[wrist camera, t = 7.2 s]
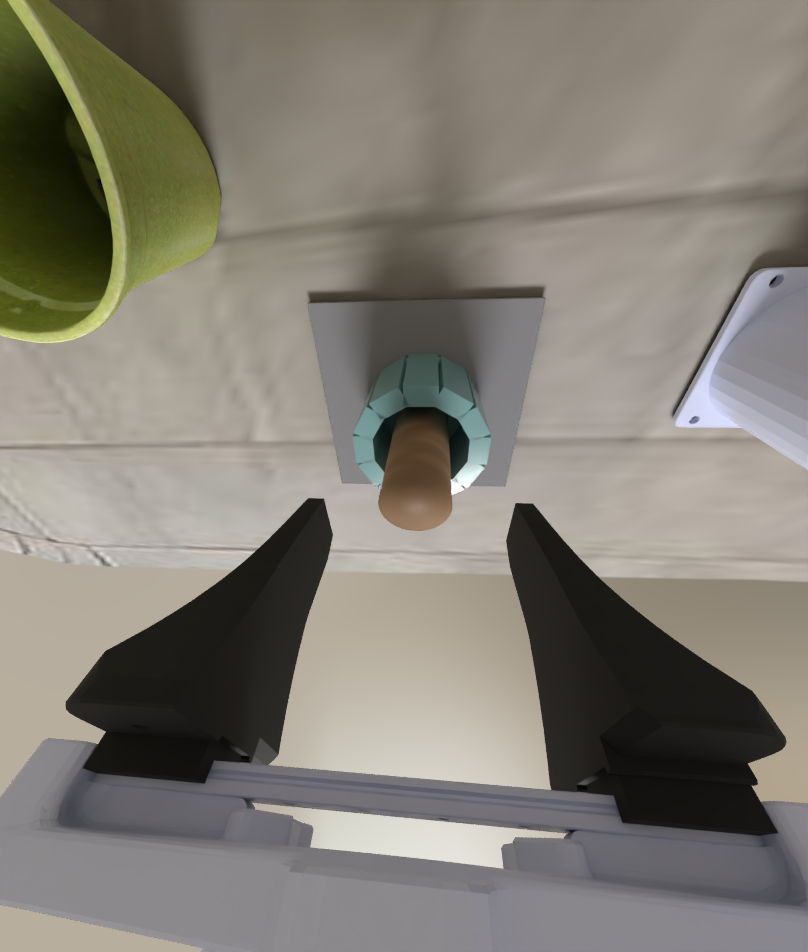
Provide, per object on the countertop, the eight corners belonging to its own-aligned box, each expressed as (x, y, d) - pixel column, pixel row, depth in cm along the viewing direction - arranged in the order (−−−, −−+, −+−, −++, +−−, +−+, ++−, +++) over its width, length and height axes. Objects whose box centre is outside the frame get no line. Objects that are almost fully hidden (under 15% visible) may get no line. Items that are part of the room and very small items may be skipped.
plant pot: (155, -70, 10) (-384, -659, 3) (298, 261, 16) (196, 285, 9) (-24, 75, 13) (-564, -109, 6) (155, 322, 18) (-16, 378, 11)
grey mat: (543, 296, 16) (545, 298, 16) (504, 482, 23) (505, 486, 23) (309, 302, 17) (307, 303, 16) (343, 479, 24) (342, 483, 24)
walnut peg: (448, 390, 18) (454, 478, 12) (446, 435, 20) (450, 532, 14) (396, 390, 18) (375, 476, 12) (398, 434, 20) (381, 529, 14)
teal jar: (485, 353, 17) (499, 385, 14) (472, 456, 21) (480, 502, 18) (362, 354, 18) (344, 386, 14) (373, 454, 22) (361, 499, 18)
